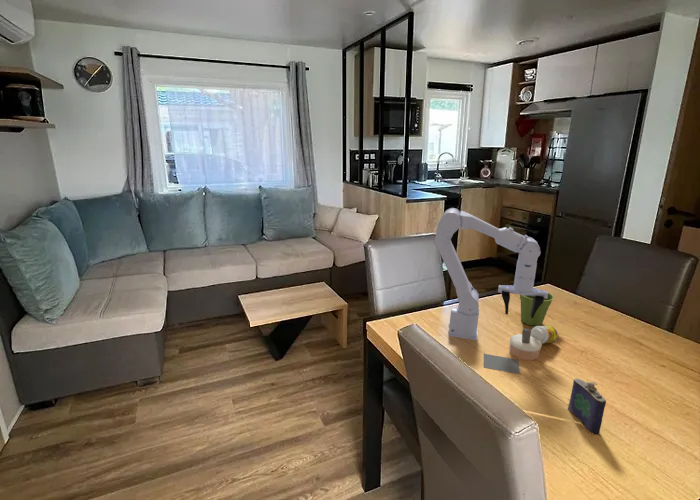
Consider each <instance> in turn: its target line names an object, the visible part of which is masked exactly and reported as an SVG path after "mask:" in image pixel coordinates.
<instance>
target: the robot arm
mask: <svg viewBox="0 0 700 500" xmlns="http://www.w3.org/2000/svg"><path fill="white" fill-rule="evenodd" d="M460 228H461V229H460ZM459 229H460V230H469V229H471V230H475V231H477V232H479V233H482V234H484V235H486V236H488V237H491V238H493V239H494V242H495V244H497V245H499V246H501V247H503V248H505V249H507V250H509V251H512V252H513V253H518V258H517V261H516V265H515V267H516V269H515V275H514V279H513V280H514V281H513V285H512V284H511V285H505V284H504V285H503V284H502V285H501V284H499V285H498V288H497V291H498V293H501V297H502V299H503V302H504V303H503V304H504V307H505V311H504V312H505V313H504V314H505V315H509V305H510V300H511V294H514V295H519V296H520V295H525V296H527V295H529V296H533V304H532V309H531V314H530V316H531V318H534V315H535V313H536V311H537V309H538V308H539V307H540V305H541V304H542V303H543V302H544V299H543V298H546V299H547V298H548V293H549V292H548V290H544V289H540V288H535V287H534V285H535V279H536V272H537V267H538V266H537V265H538V262H537V261H538V258H539V257H540V256H541V253H542V251H541V247H540V245H539V244H538V243H539V242H538V241H537V240H535V239H534V238H533V237H531V236H528V235H527V234H524V235H523V234H520V233H518V232H516V231H515V230H514V228H513V227H511V226H509V227H506V226H505V227H502V228H498V227H496V226H494V225H493V224H491V223H489V222H486V221H484V220H482V219H481V218H479V217H477V216H475V215H473V214H471V213H468V212H467V211H464V210H461V211H460V210H459V209H458V208H455V207H450V208H448V209H446V210H445V211H444V213H443V214H442V216H441V218H440V219H439V221H438V222H437V225H436V233H435V237H434V243H435V245H436V247H437V249H438V251H439V254H440V256H441V259H442V261H443V262H444V265H445V267H446V270H447V272H448V274H449V277H450V279H451V281H452V284H453V286H454V288H455V292H456V296H457V299H458V305H457V307H451V308H450V309H451V310H450V315H449V316H450V318H449V323H448V336H449V337H453V338H459V339H460V338H461V339H464V340H465V339H467V340H470V341H471V340H472V341H478V337H479V335H478V333H479V329H478V325H479V323H478V322H479V318H480V317H479V315H480V308H479V307H480V305H479V299H480V294H479V292H478V291H477V289H475V288H474V287H473V285H472V283H471V282H470V281H469V278H468V276H467V274H466V272H465V270H464V266H463V265H462V262H461V260H460V258H459V255H458V254H457V251H456V249H455V247H454V244H453V243H452V238H453V235H454V234H455V233H456V232H457V231H458V230H459Z"/></svg>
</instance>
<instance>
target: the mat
mask: <svg viewBox="0 0 700 500" xmlns="http://www.w3.org/2000/svg"><path fill="white" fill-rule="evenodd" d="M483 368H484V369H490V370H493V371H494V370H495V371H501V372H506V373H511V374H517V375H521V370H520V364H519V358H511V357H506V356H499V355H495V354H488V353H483Z"/></svg>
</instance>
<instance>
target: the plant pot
mask: <svg viewBox="0 0 700 500" xmlns="http://www.w3.org/2000/svg"><path fill="white" fill-rule="evenodd" d="M519 299H520V319H521V322H522V323H523V324H526V325H529V326H534V327H536V326H543V323H544V320H545V317H546V315H547V312H548V310H549V307H550V306H551V304H552V301H554V300H555V296H554V294H553V293H550V292H548V298H547V299H546V298H543V299H544V302H543V303H542V304H541V305H540V307H539V308H538V309H537V311H536V313H535V315H534V318H531V316H530V314H531V309H532V304H533V296H529V295H527V296H525V295H520V294H519Z"/></svg>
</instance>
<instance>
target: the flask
mask: <svg viewBox="0 0 700 500" xmlns="http://www.w3.org/2000/svg"><path fill="white" fill-rule="evenodd" d="M597 385H598V383H597V382H594V381H593V382H588V381H587V382H585V381H584V380H583V379H581V378H574V379H573V383H572V388H571V393H570V398H569V403H568V407H567V410H568V411H569V412H570V413H571V414H573V415H574V416H575V417H576V418H577V419H578V420H579V421H580V424H581V425H582V424H583V425H584V426H583V425H582V426H583V427H586V428H585V429H586V430H587V431H588V433H590V432H591V433H590V434H592V433H593V434H592V435H594V434H597V435H600V430H601V428H602V427H601V426H602V422H603V417H604V413H605V407H606V403H607V400H606V399H605V397H604V396H603V395H602V394H601V393H600V392H599V391H598V389H597V388H596V387H595V386H597Z"/></svg>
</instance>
